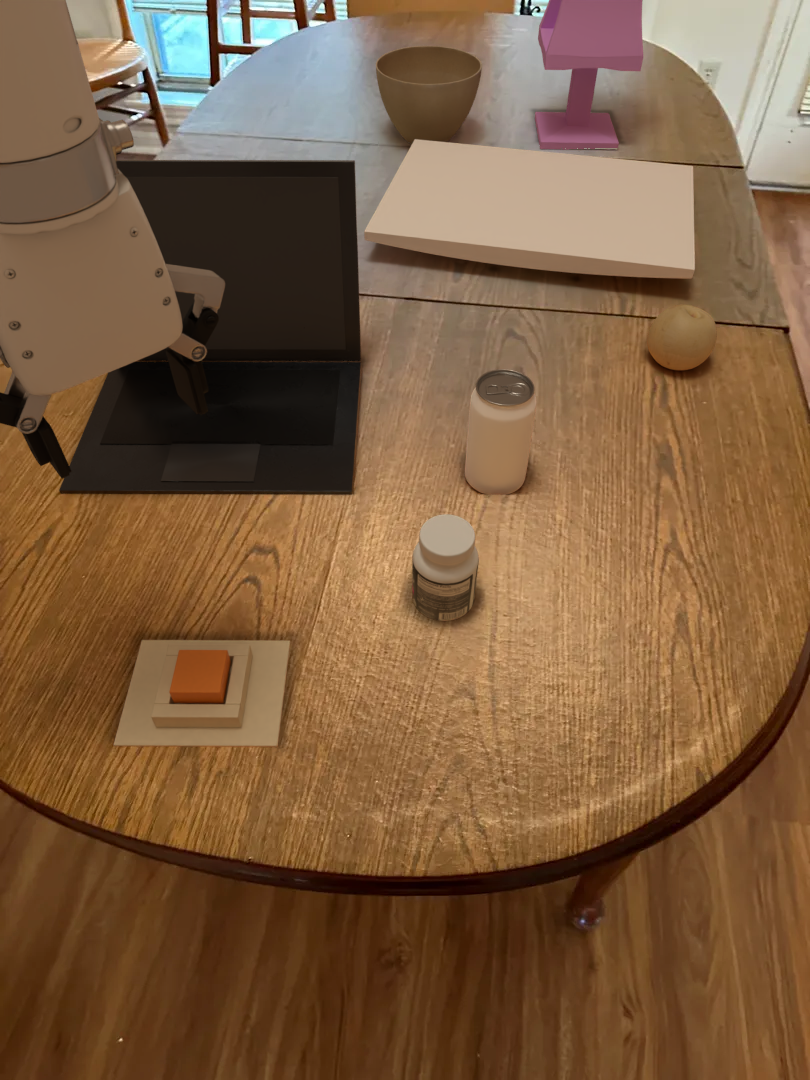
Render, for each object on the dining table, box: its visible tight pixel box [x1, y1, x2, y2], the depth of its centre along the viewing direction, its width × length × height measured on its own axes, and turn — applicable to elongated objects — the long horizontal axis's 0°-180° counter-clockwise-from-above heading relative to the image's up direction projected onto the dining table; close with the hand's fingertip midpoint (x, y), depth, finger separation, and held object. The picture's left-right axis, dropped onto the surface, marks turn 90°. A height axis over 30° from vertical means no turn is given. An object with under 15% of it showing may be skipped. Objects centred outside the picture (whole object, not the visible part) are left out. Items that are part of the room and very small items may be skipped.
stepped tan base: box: [113, 639, 291, 748], centre depth 65 cm, size 13×10×3 cm
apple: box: [646, 303, 718, 371], centre depth 95 cm, size 8×8×8 cm
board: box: [363, 139, 696, 280], centre depth 119 cm, size 45×32×5 cm
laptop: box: [58, 361, 363, 496], centre depth 88 cm, size 22×30×2 cm
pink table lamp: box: [534, 0, 644, 150], centre depth 130 cm, size 16×16×35 cm
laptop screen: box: [116, 159, 362, 362], centre depth 89 cm, size 22×30×1 cm
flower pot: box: [375, 45, 483, 145], centre depth 138 cm, size 18×18×12 cm
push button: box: [169, 650, 231, 703], centre depth 64 cm, size 4×4×2 cm
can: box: [464, 368, 537, 496], centre depth 80 cm, size 6×6×12 cm
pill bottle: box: [411, 513, 480, 622], centre depth 69 cm, size 6×6×10 cm
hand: (128, 433), depth 52 cm, fingers open, 9 cm apart
